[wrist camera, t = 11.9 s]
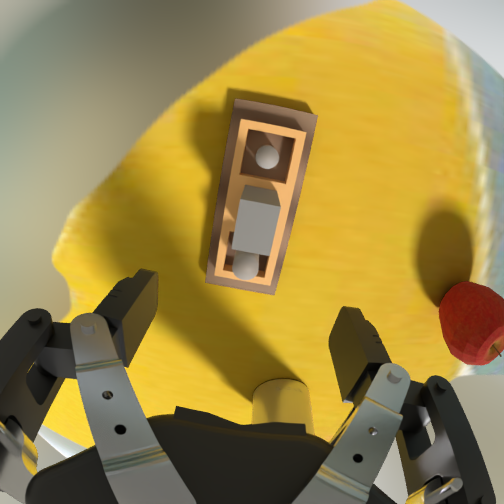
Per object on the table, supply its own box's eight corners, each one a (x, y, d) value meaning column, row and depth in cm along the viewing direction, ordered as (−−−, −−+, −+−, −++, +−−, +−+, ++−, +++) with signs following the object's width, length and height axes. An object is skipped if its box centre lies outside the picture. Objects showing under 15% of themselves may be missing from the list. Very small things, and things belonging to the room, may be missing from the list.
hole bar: (269, 279, 31) (271, 320, 24) (216, 269, 31) (204, 307, 24) (304, 132, 25) (319, 131, 18) (242, 119, 25) (234, 114, 18)
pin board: (273, 288, 34) (275, 318, 28) (207, 276, 33) (197, 304, 28) (315, 116, 26) (328, 112, 20) (236, 100, 25) (229, 91, 20)
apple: (482, 262, 31) (538, 312, 18) (467, 316, 35) (510, 371, 22) (431, 271, 32) (488, 334, 19) (419, 329, 36) (458, 396, 23)
